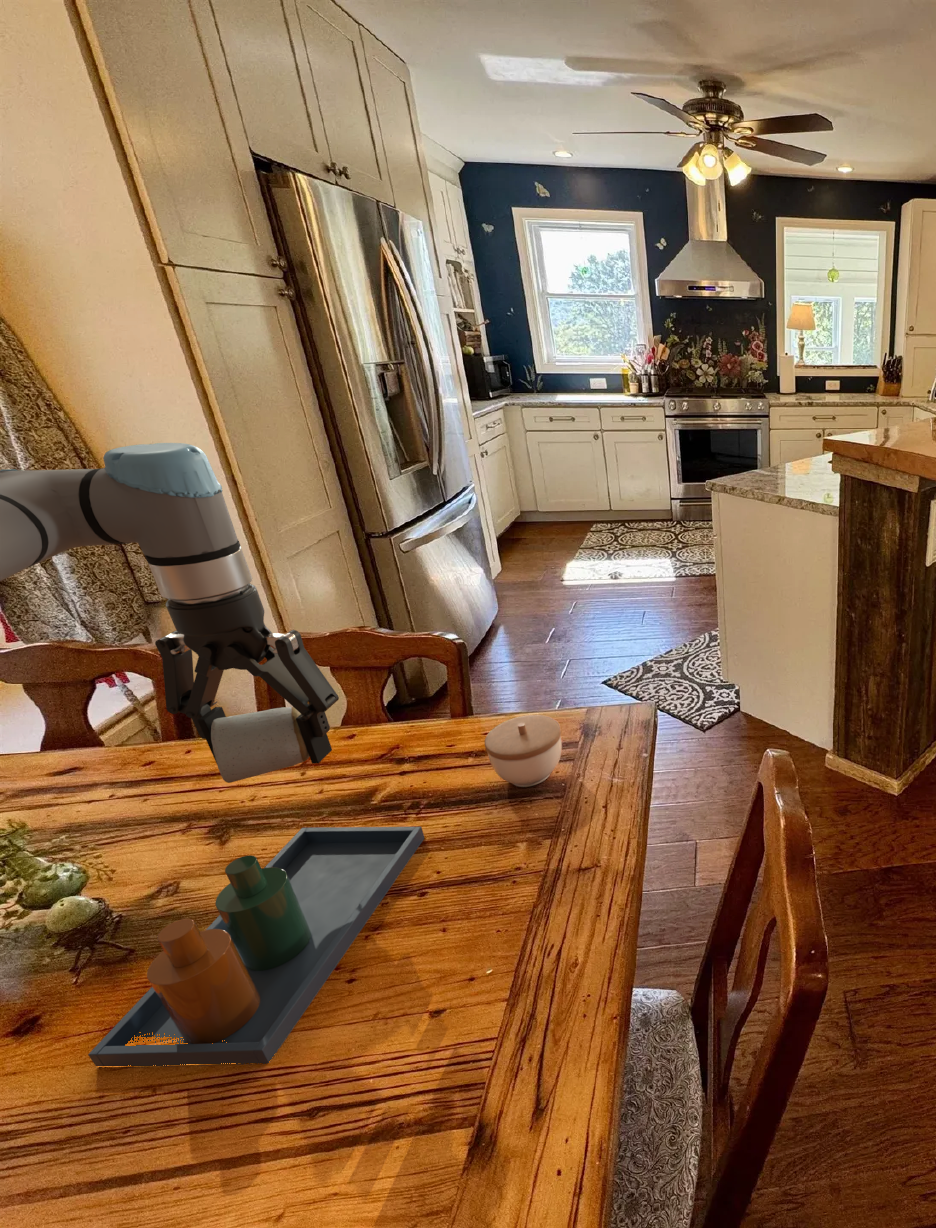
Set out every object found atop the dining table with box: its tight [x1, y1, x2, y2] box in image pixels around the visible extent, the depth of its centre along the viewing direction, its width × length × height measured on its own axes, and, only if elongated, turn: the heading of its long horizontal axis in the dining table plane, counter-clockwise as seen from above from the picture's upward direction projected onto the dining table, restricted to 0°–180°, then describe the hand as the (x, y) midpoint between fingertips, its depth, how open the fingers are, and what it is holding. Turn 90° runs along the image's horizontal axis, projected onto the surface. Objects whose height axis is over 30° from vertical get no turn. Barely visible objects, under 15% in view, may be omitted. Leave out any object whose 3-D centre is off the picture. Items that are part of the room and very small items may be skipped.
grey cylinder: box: [211, 706, 310, 784], centre depth 79 cm, size 11×8×8 cm
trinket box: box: [484, 714, 563, 788], centre depth 101 cm, size 11×11×9 cm
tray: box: [87, 826, 425, 1067], centre depth 75 cm, size 16×30×3 cm, turn 3°
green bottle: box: [214, 854, 311, 971], centre depth 71 cm, size 6×6×12 cm
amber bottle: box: [146, 918, 260, 1044], centre depth 64 cm, size 6×6×12 cm
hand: (275, 757), depth 80 cm, fingers closed on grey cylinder, 10 cm apart
